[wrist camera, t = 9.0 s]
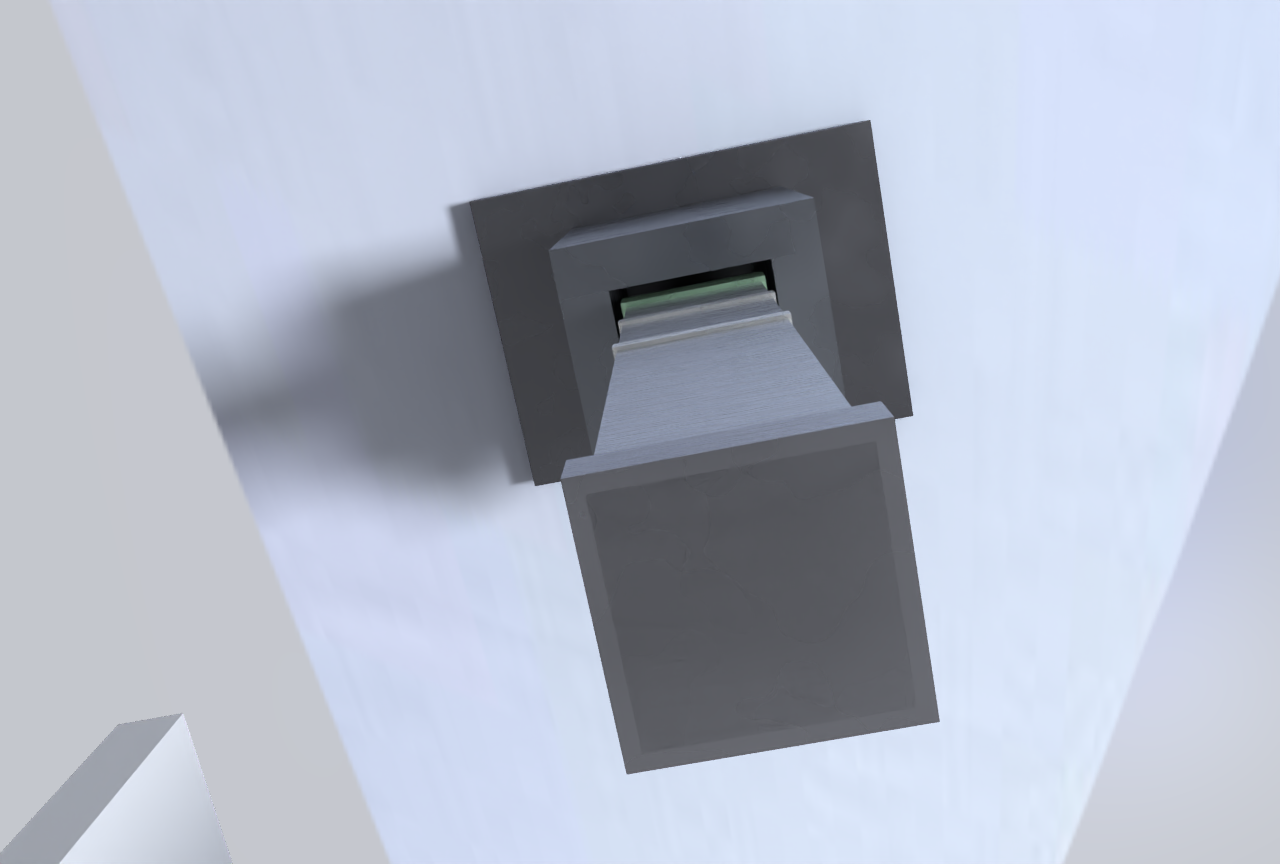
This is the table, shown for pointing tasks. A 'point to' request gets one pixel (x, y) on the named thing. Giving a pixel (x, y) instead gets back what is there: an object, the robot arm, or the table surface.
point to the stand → (690, 270)
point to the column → (744, 539)
